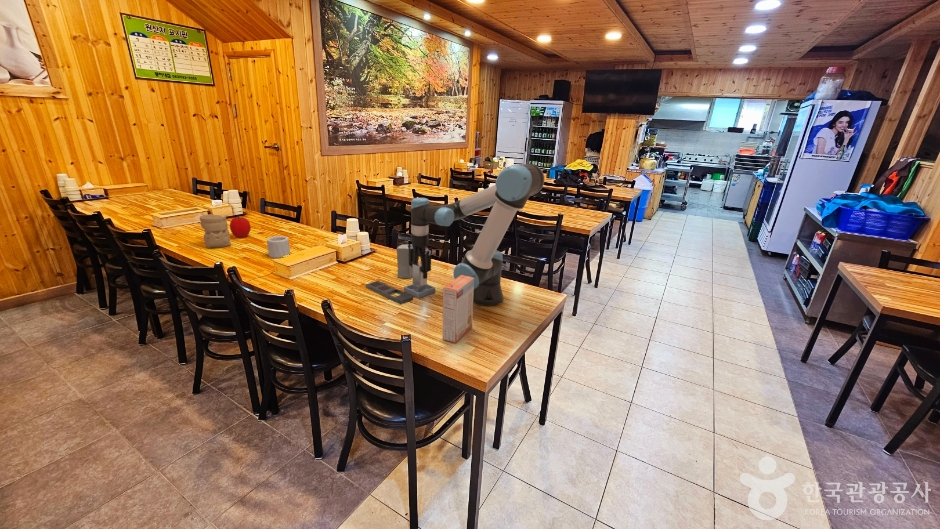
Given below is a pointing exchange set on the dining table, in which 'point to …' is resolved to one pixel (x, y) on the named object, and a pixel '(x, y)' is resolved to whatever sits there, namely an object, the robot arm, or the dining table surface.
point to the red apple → (240, 227)
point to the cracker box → (457, 308)
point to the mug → (278, 246)
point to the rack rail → (389, 292)
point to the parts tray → (416, 293)
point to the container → (215, 230)
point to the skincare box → (403, 262)
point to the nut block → (418, 277)
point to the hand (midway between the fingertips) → (419, 282)
